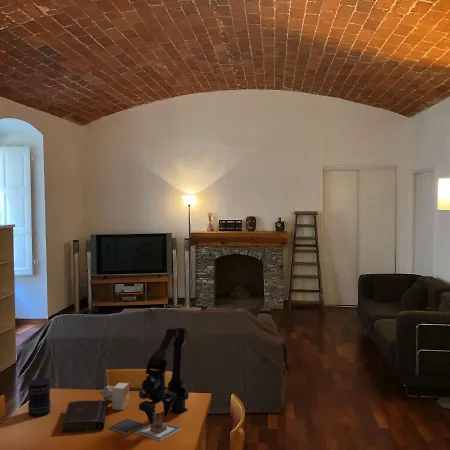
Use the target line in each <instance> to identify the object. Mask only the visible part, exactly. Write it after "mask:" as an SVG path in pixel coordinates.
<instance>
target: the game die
mask: <svg viewBox="0 0 450 450" xmlns="http://www.w3.org/2000/svg"><path fill="white" fill-rule="evenodd" d="M105 385H106V386H105V387H104V388H103V389H102V391H99V394H101V395H102V398H103V400H106V402H112V388H113V387H114V386H116V385H117V384H116V385H108V384H105Z"/></svg>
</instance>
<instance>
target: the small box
mask: <svg viewBox="0 0 450 450" xmlns="http://www.w3.org/2000/svg"><path fill="white" fill-rule="evenodd" d="M113 386H114V387H113V388H112V401H111V403H112V405H111V406H112V410H115V411H116V410H117V411H119V410H120V411H124V410H125V409H126V408H127V407H128V406H129V405H130V383H129V382H118V383H117V384H116V386H115V385H113Z"/></svg>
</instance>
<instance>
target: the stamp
mask: <svg viewBox="0 0 450 450" xmlns="http://www.w3.org/2000/svg"><path fill="white" fill-rule="evenodd" d="M154 422H155V424H154V425H152V426H150V431H153V432H156V433H161V432H163V431H165V430H167V425H165V424H162V422H163V413H162V412H155V416H154Z"/></svg>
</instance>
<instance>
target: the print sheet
mask: <svg viewBox="0 0 450 450" xmlns="http://www.w3.org/2000/svg"><path fill="white" fill-rule="evenodd" d="M154 424H155V421H153V424H152V425H154ZM162 424H165V425H167V430H165V431H163V432H161V433H156V432H153V431H150V426H152V425H151V424H150V423H149V424H148V425H145V426H143V427H141V428H139V429H137V430H135V431H134V432H135V433H136V434H138V435H141V436H143V437H146V438H150V439H153V440H156V441H163V440H165V439H166V438H168V437H170V436H171V435H173V434H175V433H177V432H179V431H181V430H182V428H181V427H180V426H176V425H173V424H170V423H166V422H163V421H162Z"/></svg>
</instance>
